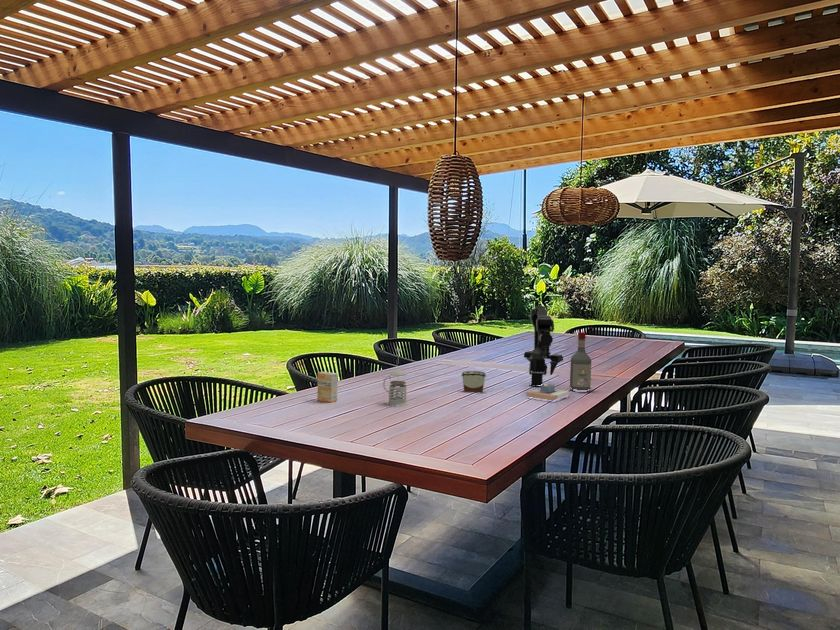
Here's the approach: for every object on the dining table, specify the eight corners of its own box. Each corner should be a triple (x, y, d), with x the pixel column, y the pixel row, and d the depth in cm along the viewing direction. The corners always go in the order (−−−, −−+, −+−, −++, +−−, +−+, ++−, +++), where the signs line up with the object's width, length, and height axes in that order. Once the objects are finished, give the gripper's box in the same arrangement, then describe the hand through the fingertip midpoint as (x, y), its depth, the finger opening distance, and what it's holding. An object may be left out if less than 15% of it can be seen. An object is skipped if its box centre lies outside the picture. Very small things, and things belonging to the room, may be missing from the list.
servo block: (548, 393, 288) (548, 382, 287) (555, 395, 285) (556, 383, 285) (539, 396, 281) (539, 384, 281) (546, 397, 278) (547, 385, 278)
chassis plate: (542, 393, 294) (542, 387, 294) (568, 397, 285) (568, 391, 285) (526, 398, 282) (526, 392, 281) (553, 402, 273) (553, 396, 272)
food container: (485, 390, 299) (486, 371, 298) (485, 393, 293) (486, 373, 292) (461, 389, 300) (461, 370, 299) (460, 392, 294) (461, 372, 293)
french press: (405, 406, 261) (406, 350, 259) (380, 404, 263) (381, 349, 261) (410, 401, 271) (411, 347, 269) (386, 400, 273) (386, 346, 271)
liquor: (591, 392, 297) (593, 333, 295) (573, 392, 297) (575, 333, 295) (586, 389, 306) (588, 331, 304) (568, 389, 306) (570, 331, 304)
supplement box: (316, 400, 270) (316, 372, 269) (323, 399, 274) (323, 371, 273) (331, 403, 266) (331, 374, 265) (337, 401, 270) (337, 372, 269)
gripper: (518, 342, 289) (517, 373, 291) (553, 346, 277) (552, 378, 279) (529, 339, 297) (528, 370, 299) (564, 343, 286) (562, 375, 287)
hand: (542, 373), depth 291 cm, fingers open, 9 cm apart
